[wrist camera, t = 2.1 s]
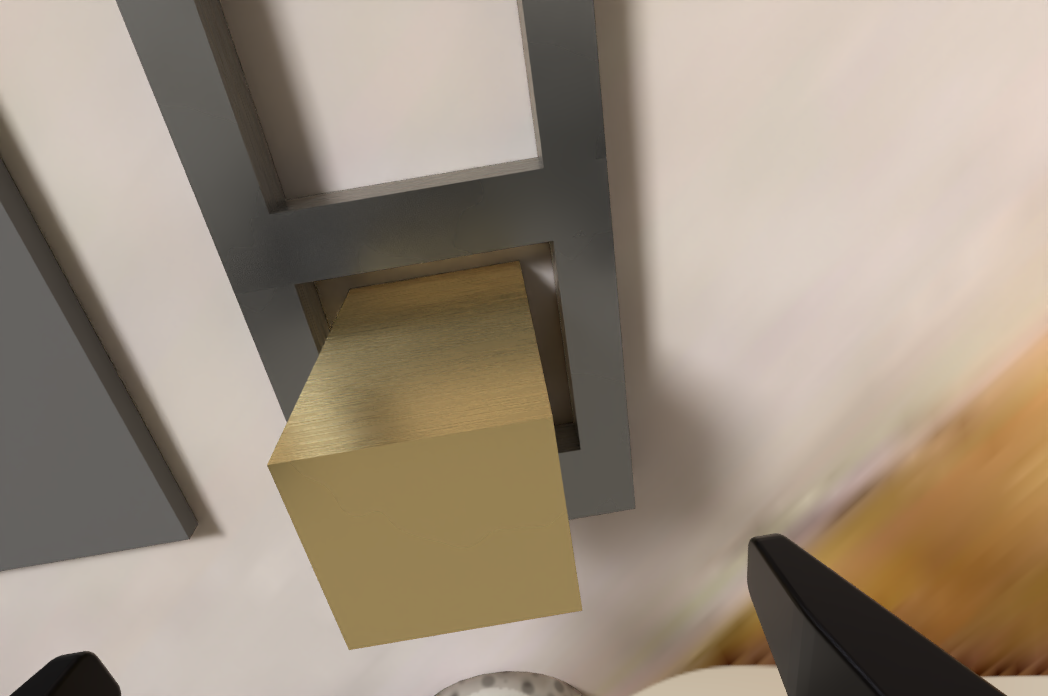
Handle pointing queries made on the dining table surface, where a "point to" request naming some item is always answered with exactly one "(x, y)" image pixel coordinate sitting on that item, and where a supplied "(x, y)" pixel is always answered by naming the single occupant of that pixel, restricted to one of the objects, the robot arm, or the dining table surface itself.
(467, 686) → the mug
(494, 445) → the mustard yellow block
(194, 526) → the rubber pad
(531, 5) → the grey slotted frame
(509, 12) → the dining table surface
